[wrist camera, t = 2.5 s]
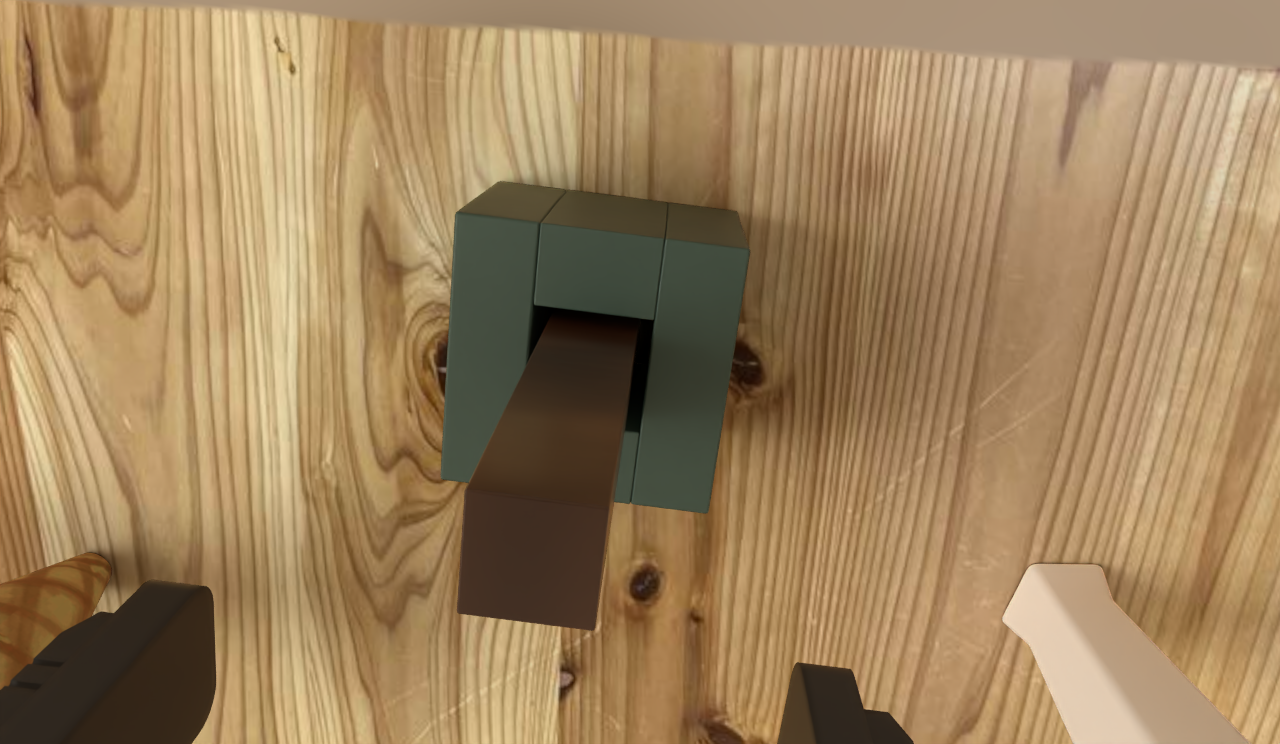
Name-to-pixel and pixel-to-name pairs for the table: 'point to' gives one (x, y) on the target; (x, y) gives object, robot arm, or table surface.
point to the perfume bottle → (1107, 665)
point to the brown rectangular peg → (551, 478)
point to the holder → (607, 284)
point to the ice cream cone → (46, 608)
